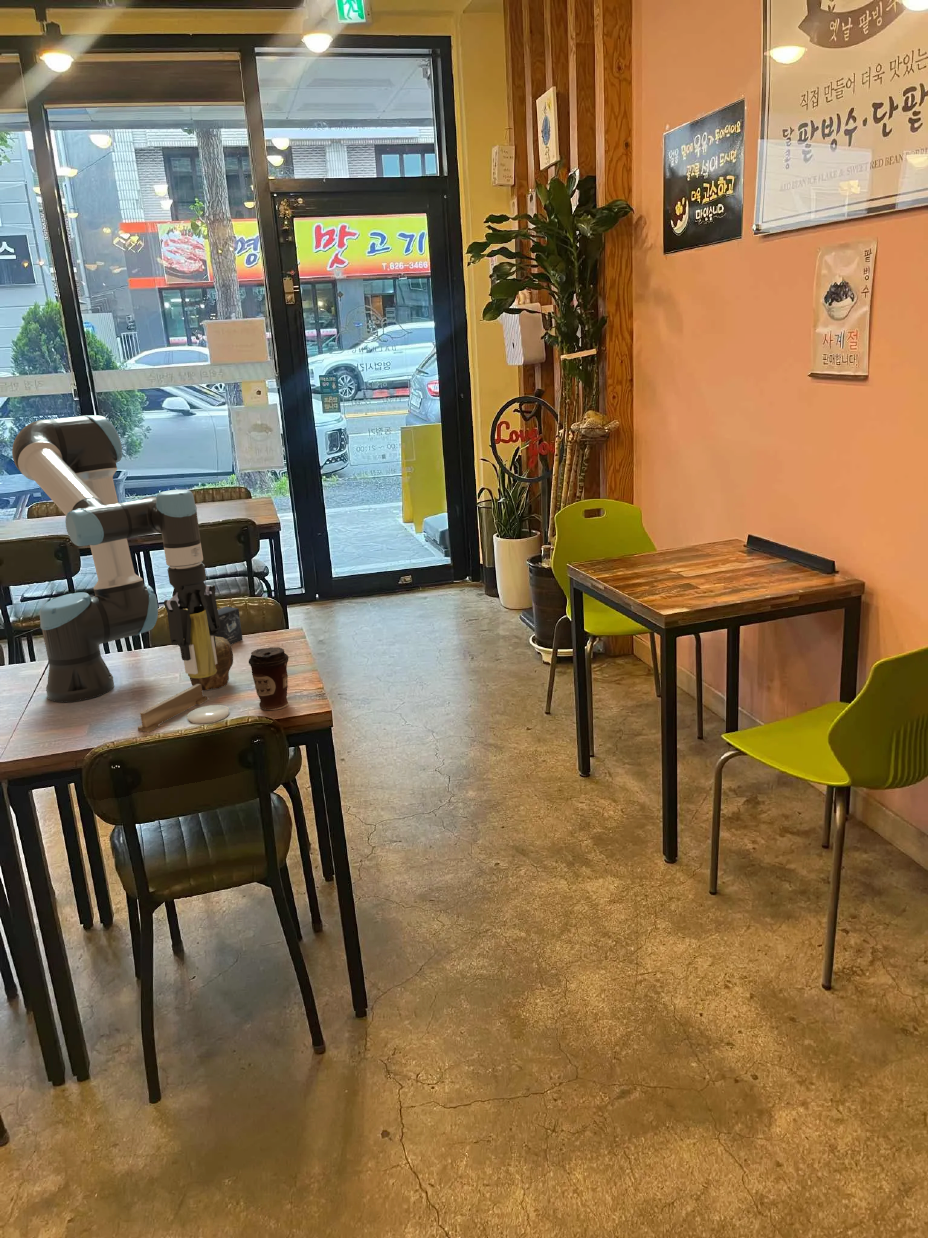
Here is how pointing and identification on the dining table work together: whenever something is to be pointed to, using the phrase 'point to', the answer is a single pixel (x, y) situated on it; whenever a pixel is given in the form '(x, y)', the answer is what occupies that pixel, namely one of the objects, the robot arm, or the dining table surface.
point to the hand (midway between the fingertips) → (201, 668)
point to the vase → (202, 645)
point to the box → (229, 624)
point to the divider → (171, 707)
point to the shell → (218, 667)
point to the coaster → (208, 714)
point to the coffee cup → (270, 677)
